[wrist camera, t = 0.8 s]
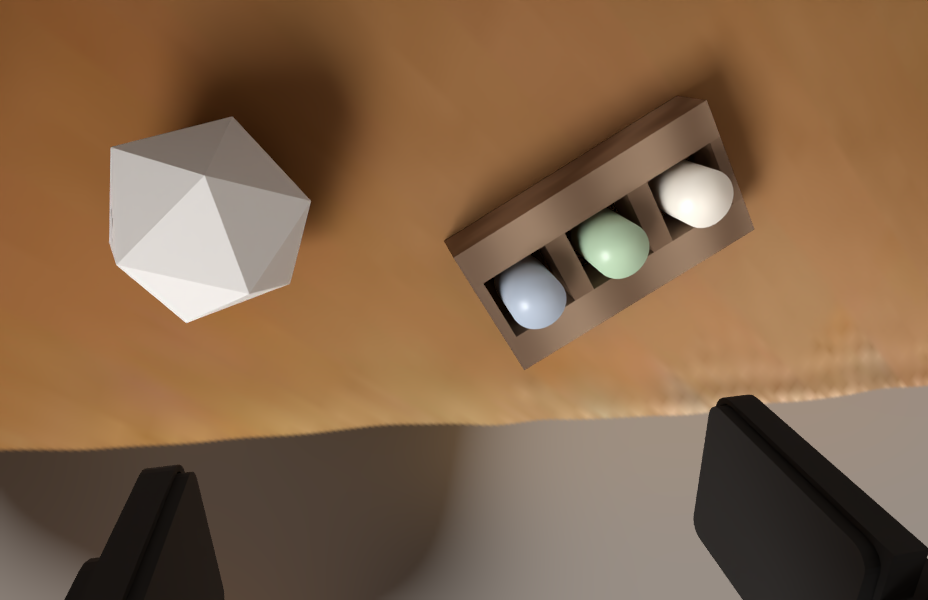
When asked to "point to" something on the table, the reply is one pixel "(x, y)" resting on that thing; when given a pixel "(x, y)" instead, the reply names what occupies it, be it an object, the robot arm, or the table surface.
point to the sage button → (611, 244)
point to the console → (586, 193)
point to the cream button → (693, 193)
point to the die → (204, 217)
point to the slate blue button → (531, 293)
